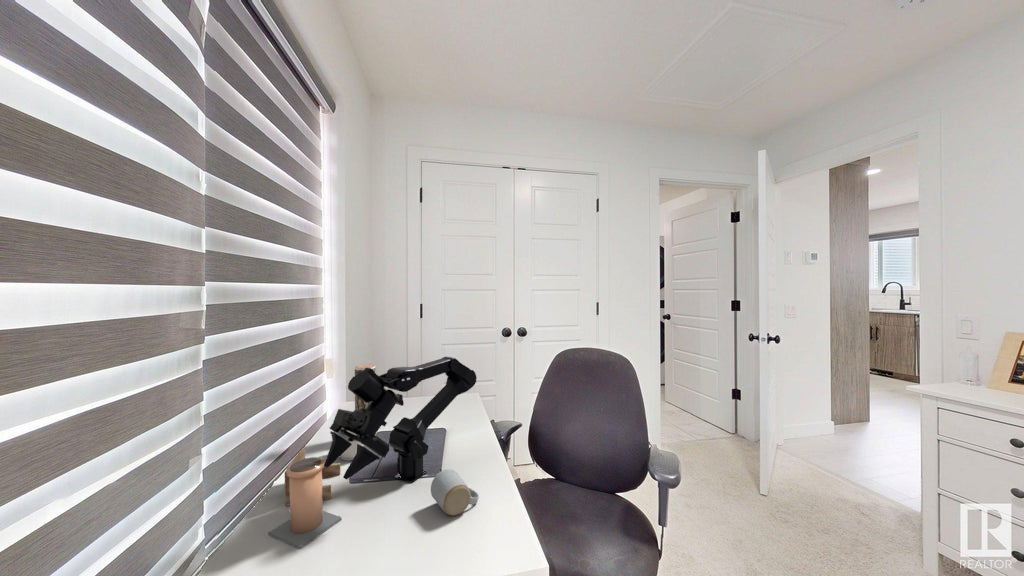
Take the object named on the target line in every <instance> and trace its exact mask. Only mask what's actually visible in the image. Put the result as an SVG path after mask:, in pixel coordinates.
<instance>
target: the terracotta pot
mask: <svg viewBox="0 0 1024 576" xmlns="http://www.w3.org/2000/svg"><path fill="white" fill-rule="evenodd" d="M291 463H292V462H291ZM291 463H290V464H291ZM324 463H325V459H324V458H322V457H314V456H313V457H305V459H302V460H299V461H296V462H294V463H292V464H291V465H290V464H289V465H288V466H287V467H286V470H285V471H286V475H287V477H289V485H290V505H289V518H290V519H289V520H290V527H291V532H293V533H295V534H302V533H307V532H310V531H312V530H314V529H316V528H317V527H319V526H320V525H321V523H322V522H323V511H324V508H323V505H324V504H323V503H324V502H323V501H324V500H323V498H322V486H323V477H322V469H323V468H324Z"/></svg>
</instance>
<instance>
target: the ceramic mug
mask: <svg viewBox="0 0 1024 576" xmlns="http://www.w3.org/2000/svg"><path fill="white" fill-rule="evenodd" d="M430 495H431V497H432V498H433V499H434V501H435V503H436V504H437V505H438V506H439V507H440V509H441V510H442V511H443V512H444V513H445V514H446V515H448V516H458V515H460V514H462V513H464V511H465V510H466V509H468V506H469V505H477V503H478V501H479V499H480V496H479V493H477V492H476V491H475V490H474V489H472V488H470V487H469V486H468V484H467V483H466V482H465V480H463V478H462V477H461V475H459V473H458V472H456V470H454V469H451V468H450V469H449V468H447V469H444V470H441V471H439V472H438V473H437V474H436V475H435V477H434V478H433V479H432V481H431V485H430Z"/></svg>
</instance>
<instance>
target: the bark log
mask: <svg viewBox="0 0 1024 576" xmlns="http://www.w3.org/2000/svg"><path fill="white" fill-rule="evenodd" d="M365 368H371V369H372V370H373V371H374V372H375V373H376V374H377V372H376V364H371V363H370V364H360V365H357V366H354V376H356V375H357V374H358V373H360V372H362V371H364V370H365ZM369 403H370V402H364V401H363V400H361V399H360V398H359V397H358V396H356V395H355V394H354V410H358V411H359V410H360V409H362V408H364V409H366V407H367V406H368V405H369ZM375 436H377V433H376V434H375Z"/></svg>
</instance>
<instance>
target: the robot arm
mask: <svg viewBox="0 0 1024 576" xmlns="http://www.w3.org/2000/svg"><path fill="white" fill-rule="evenodd" d="M442 374H445V376H446V382H445V385H444V386H443V387H442V388H441V389H440V390H439V391H438V392H437V393H436V394H435V395H434V396H433V398H431V400H429V402H428V403H427V404H426V405H425V406H424V407H423V408H421V410H420V411H419V412H418V413H416V415H415V416H413V417H412V418H408V417H402V418H401V420H400V421H399V422H398V423H397V424H395V425H394V426H393V427H392V428H393V429H392V430H391V432H390V434H389V438H388V443H389V444H388V443H387V442H385V441H384V440H383V439H381V437H379V436H378V435H377V433H378V431H379V430H380V428H381V427H386V425H387V424H388V422H386V419H387V417H388V416H389V415H390V414H391V412H392V410H393V408H394V407H395V406H396V405H399V406H401V407H402V406H404V403H405V402H404V399H403V397H404V396H403V395H402V394H401V393H396V392H395V391H398V392H403V393H406V392H408V391H410V390H412V389H414V388H416V387H417V386H418V385H419V383H421V382H422V381H425V380H428V379H430V378H435V377H436V376H439V375H442ZM477 378H478V377H477V374H476V372H475V371H474V370H473V369H471V368H469V367H468V366H466V365H465V364H463V363H461V361H459V360H458V359H457V358H455V357H451V356H443V357H441V358H439V359H436V360H432V361H429V362H426V363H422V364H419V365H415V366H400V367H399V366H398V367H396V366H395V367H391V368H389V369H388V370H387V372H385V373H383V374H380V375H378V374H377V372H376V373H375V372H374V371H373V370H372V369H371V368H365V370H364V371H362V372H360V373H358V374H357V375H356V376H355V375H354V376H352V377H351V379H350V380H349V382H348V385H347V388H348V391H350V392H351V393H352V394H354V396H355V395H356V396H358V397H359V398H360V399H361V400H363V401H364V402H370V403H369V405H368V406H367V407H366V409H364V408H362V409H360V410H359V411H358V410H355V409H354V410H353V411H352V410H347V409H346V410H345V409H342V408H338V410H337V411H336V414H335V417H334V419H333V421H332V424H331V425H330V426H329V429H330V432H329V433H330V434H331V440H332V441H331V445H330V447H329V450H328V453H327V456H326V458H325V460H324V466H325V467H329V466H330V465H331V464H334V463H335V461H337V460H338V459H339V458H341V457H340V456H341V455H342V454H343V453H344V452H345V451H346V450H347V449H348V448H349V447H350V446H351V445H352V444H351V443H350V442H348V441H351V442H352V441H354V440H356V441H358V442H360V443H361V444H363V445H364V446H361V445H359V444H357V453H356V455H355V457H354V459H353V460H351V462H350V464H349V465H348V467H347V469H346V471H345V472H344V474H343V477H342V478H344V479H345V480H349V479H350V478H351V477H353V476H354V475H355V474H357V473H359V472H360V471H361V470H363V469H364V468H366V467H367V466H369V465H370V464H372V463H373V462H375V461H377V460H381V458H384V459H385V458H386V456H387V455H388V453H389V451H390V447H391V448H392V449H393V452H394V453H397V459H396V461H397V463H396V464H397V465H396V466H397V467H396V469H397V474H398V473H399V474H400V476H401V478H400V477H398V478H400V479H399V480H400V481H404V482H408V483H414V482H415V481H417V480H418V479H420V478H421V477H422V476H423V475H422V474H423V473H424V472H426V471H424V470H423V469H424V456H425V455H427V454H428V450H429V445H428V444H427V443H426V442H424V440H425V437H426V436H425V435H426V432H427V429H429V428H430V426H431V425H432V424H433V423H434V422H435V420H436V419H437V418H438V417H439V416H440V415H441V414H442V413H443V412H444V411H445V409H446V408H447V407H449V405H450V404H451V403H452V402H453V401H454V400H455V399H456V398H457V396H460V395H462V394H464V393H466V392H468V391H470V390H471V389H472V388H473V387H474V386H475V385H476V383H477ZM386 388H388V389H386ZM393 390H394V391H393ZM375 434H376V436H375ZM423 471H424V472H423ZM426 473H427V472H426ZM421 475H422V476H421ZM420 476H421V477H420Z"/></svg>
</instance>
